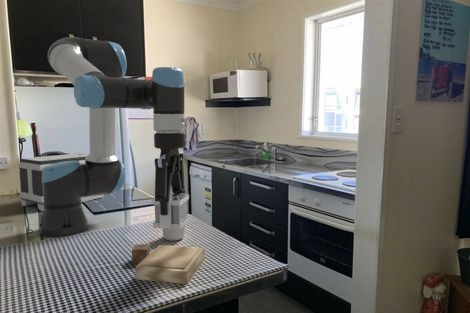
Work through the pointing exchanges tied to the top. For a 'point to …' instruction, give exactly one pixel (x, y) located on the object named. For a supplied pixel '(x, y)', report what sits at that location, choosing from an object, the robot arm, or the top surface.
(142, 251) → the walnut block
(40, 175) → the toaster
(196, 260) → the tan square tray
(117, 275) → the top surface
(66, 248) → the top surface
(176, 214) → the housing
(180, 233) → the cup
